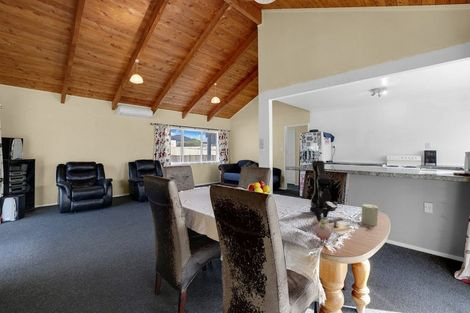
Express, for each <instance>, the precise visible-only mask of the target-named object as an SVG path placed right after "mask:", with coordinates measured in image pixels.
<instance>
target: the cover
mask: <svg viewBox="0 0 470 313" xmlns="http://www.w3.org/2000/svg"><path fill="white" fill-rule="evenodd" d="M329 220H331V218H329V217H327V218H326V217H323V215H321V219H320V222H318V220H317V218H316V216H314V217H313V221H314V222H317V223H321V222H324V223H325V224H330V223H329Z"/></svg>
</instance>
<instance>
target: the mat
mask: <svg viewBox="0 0 470 313" xmlns="http://www.w3.org/2000/svg"><path fill="white" fill-rule="evenodd" d="M292 228H295V229H298V230H300V231H303V232H307V231H306V230H304V229H302V228H299V227H296V226H294V225H292Z"/></svg>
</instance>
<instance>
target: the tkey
mask: <svg viewBox="0 0 470 313" xmlns="http://www.w3.org/2000/svg"><path fill="white" fill-rule="evenodd" d="M340 221H341V222H342V221H344V217H341V216H338V217H336V218H333V219H330V220H329V223H334V227H336V226H337V223H338V222H340Z"/></svg>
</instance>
